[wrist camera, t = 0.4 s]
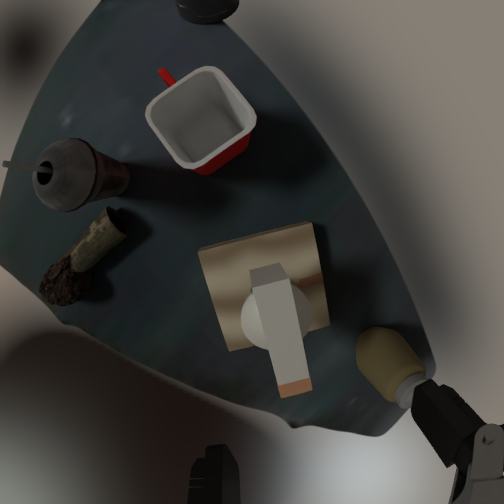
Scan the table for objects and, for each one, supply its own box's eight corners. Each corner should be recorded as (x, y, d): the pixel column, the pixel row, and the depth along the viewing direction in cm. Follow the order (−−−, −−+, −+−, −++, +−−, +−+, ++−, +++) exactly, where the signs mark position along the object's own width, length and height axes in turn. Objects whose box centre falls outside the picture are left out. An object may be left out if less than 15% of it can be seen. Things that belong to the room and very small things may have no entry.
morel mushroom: (114, 204, 34) (95, 207, 28) (143, 243, 35) (128, 252, 29) (47, 277, 35) (26, 288, 29) (70, 310, 36) (53, 325, 31)
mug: (256, 144, 33) (264, 123, 22) (202, 182, 33) (187, 177, 23) (202, 77, 31) (190, 37, 20) (151, 113, 31) (121, 86, 21)
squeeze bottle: (399, 338, 40) (461, 400, 22) (363, 370, 40) (411, 444, 23) (378, 309, 38) (448, 372, 21) (338, 344, 39) (389, 424, 21)
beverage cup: (119, 216, 34) (17, 241, 14) (84, 186, 32) (-23, 189, 13) (149, 171, 33) (58, 150, 13) (112, 142, 32) (12, 107, 12)
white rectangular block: (227, 272, 26) (224, 295, 20) (298, 253, 26) (316, 271, 20) (255, 366, 28) (259, 403, 22) (317, 349, 28) (333, 383, 22)
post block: (200, 248, 35) (188, 265, 26) (306, 221, 35) (329, 229, 26) (229, 342, 38) (227, 380, 29) (325, 317, 38) (346, 349, 29)
